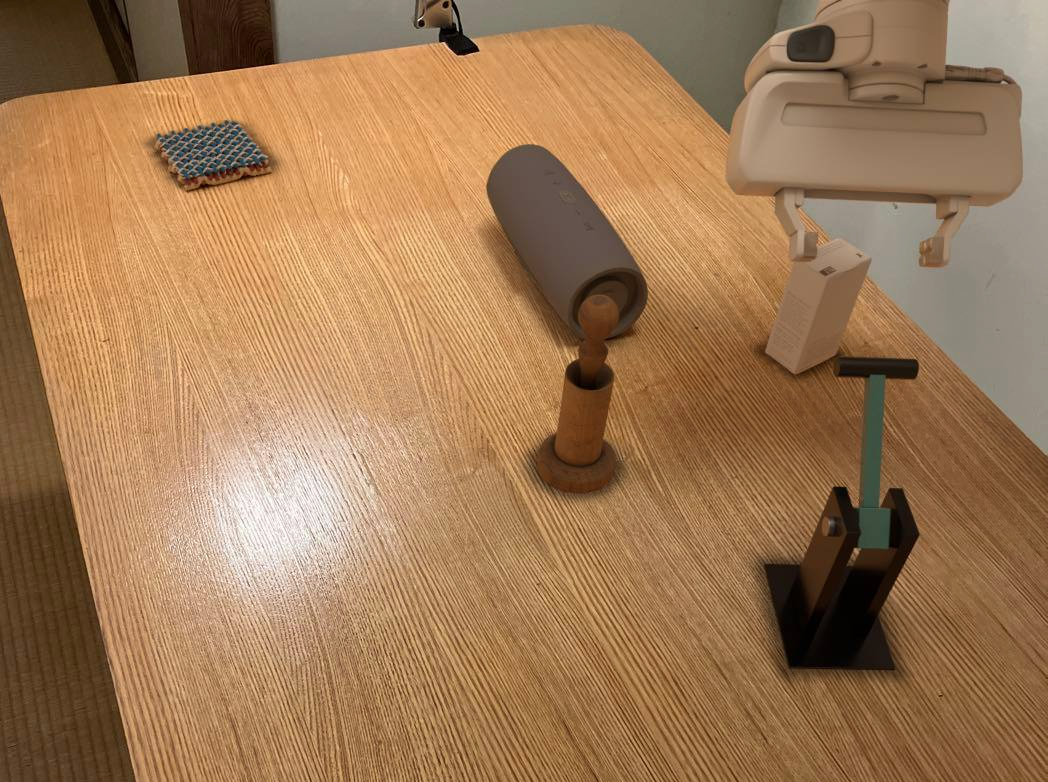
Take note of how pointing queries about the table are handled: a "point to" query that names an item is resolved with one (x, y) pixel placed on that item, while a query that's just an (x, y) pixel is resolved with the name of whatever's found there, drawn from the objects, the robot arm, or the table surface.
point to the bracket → (841, 589)
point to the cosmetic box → (817, 306)
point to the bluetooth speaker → (563, 237)
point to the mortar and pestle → (584, 409)
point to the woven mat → (212, 155)
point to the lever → (873, 439)
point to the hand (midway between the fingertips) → (868, 263)
